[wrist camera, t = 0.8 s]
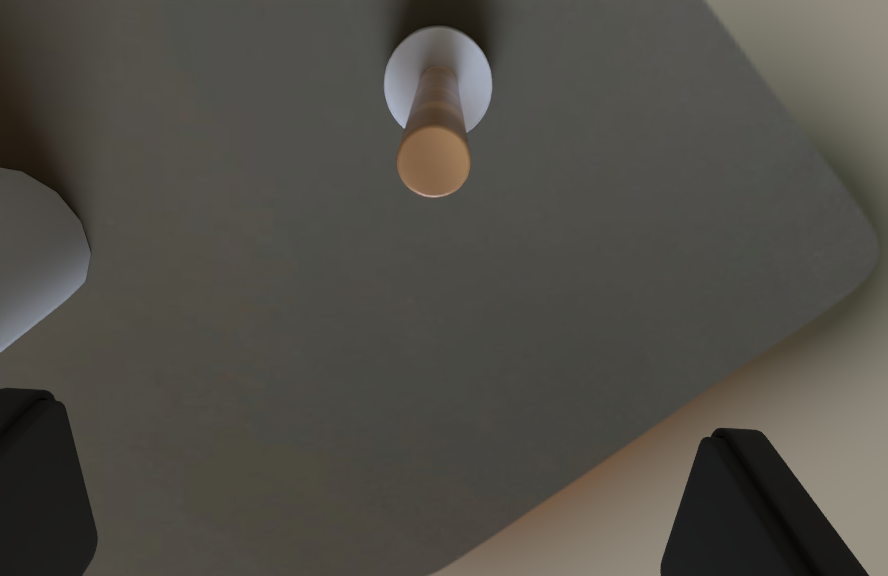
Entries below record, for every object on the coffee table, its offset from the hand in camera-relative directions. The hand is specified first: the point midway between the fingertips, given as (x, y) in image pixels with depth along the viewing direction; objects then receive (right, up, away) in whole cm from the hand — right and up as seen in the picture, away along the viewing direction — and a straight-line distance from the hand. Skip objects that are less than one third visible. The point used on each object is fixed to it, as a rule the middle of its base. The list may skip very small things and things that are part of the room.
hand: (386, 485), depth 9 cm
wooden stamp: (+1, +13, +21) cm, 24 cm away
